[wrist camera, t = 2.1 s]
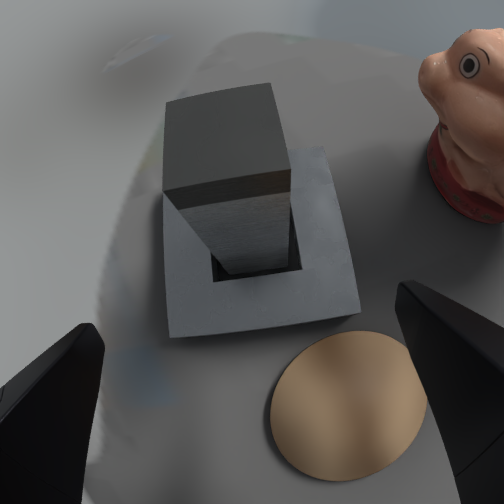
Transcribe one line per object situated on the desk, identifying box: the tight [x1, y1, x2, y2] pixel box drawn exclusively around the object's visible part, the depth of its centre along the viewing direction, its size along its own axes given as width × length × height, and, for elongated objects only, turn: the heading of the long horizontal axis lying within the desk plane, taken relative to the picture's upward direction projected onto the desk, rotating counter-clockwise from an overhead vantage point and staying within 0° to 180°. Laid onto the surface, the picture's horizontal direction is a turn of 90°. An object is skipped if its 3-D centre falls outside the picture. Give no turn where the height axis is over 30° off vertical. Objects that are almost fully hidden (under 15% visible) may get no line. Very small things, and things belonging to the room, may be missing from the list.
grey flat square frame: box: [163, 146, 361, 338], centre depth 20 cm, size 12×12×2 cm
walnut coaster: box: [270, 331, 427, 481], centre depth 17 cm, size 11×11×1 cm
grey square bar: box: [162, 83, 291, 275], centre depth 15 cm, size 4×4×12 cm
